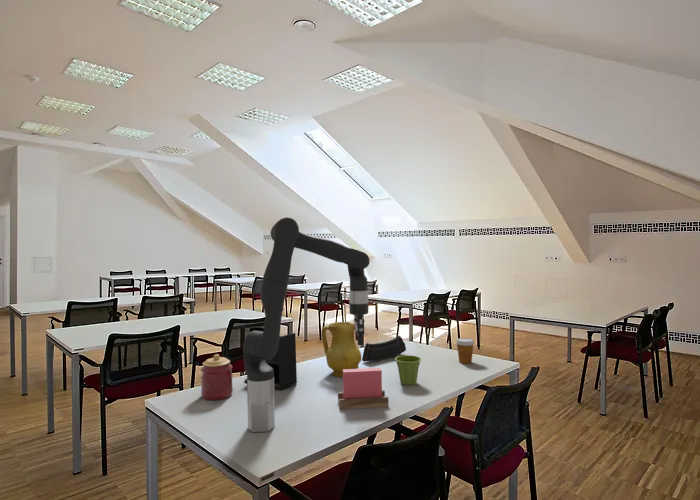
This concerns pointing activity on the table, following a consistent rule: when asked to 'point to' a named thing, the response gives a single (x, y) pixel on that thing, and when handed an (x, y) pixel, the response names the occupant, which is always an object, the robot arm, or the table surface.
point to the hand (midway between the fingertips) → (359, 342)
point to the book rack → (362, 402)
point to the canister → (216, 378)
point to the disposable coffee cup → (465, 350)
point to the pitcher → (341, 348)
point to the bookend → (284, 363)
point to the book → (362, 383)
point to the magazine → (384, 350)
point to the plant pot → (408, 368)
